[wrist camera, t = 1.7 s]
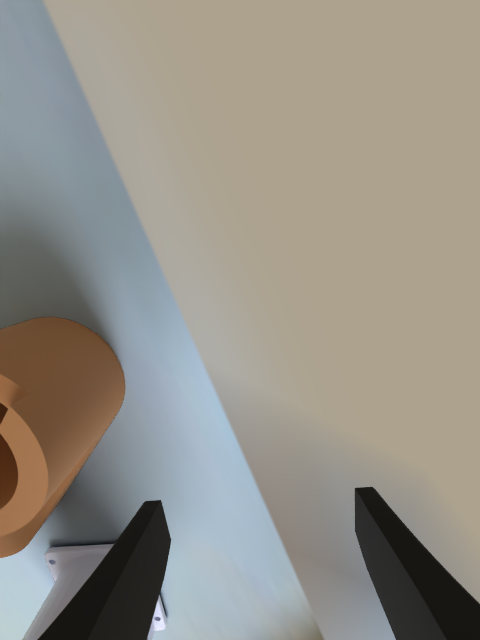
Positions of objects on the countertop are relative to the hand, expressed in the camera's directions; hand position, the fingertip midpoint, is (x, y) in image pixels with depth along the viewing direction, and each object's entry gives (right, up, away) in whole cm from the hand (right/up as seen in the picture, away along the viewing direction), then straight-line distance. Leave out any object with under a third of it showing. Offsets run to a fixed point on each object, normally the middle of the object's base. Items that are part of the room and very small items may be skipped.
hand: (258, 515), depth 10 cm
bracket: (-15, 0, +9) cm, 17 cm away
